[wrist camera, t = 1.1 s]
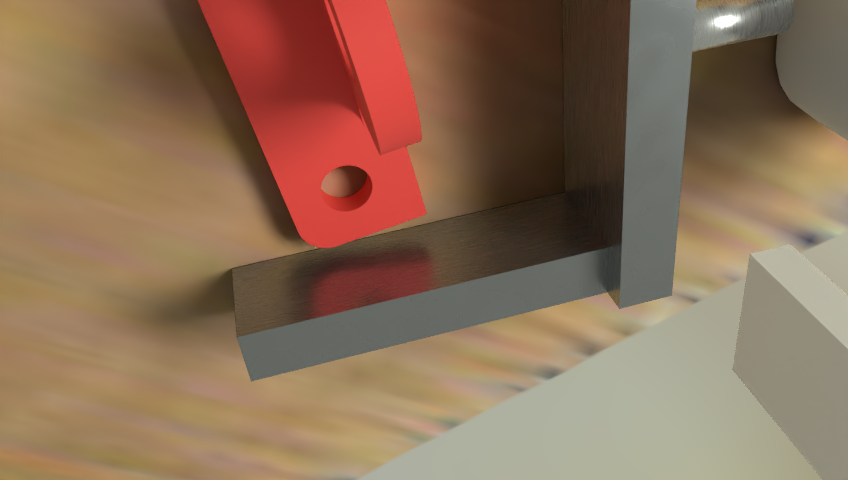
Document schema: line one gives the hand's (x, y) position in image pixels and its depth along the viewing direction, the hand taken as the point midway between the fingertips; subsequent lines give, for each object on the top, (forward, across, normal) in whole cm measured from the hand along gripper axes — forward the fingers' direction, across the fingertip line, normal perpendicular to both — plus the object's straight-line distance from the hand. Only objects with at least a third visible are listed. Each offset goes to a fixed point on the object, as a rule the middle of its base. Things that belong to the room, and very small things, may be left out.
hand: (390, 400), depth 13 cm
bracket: (+16, 0, 0) cm, 16 cm away
